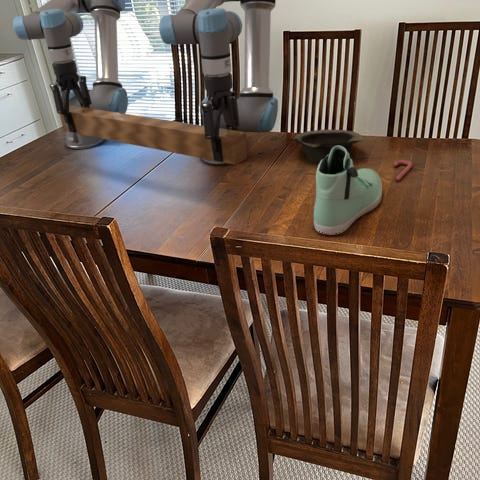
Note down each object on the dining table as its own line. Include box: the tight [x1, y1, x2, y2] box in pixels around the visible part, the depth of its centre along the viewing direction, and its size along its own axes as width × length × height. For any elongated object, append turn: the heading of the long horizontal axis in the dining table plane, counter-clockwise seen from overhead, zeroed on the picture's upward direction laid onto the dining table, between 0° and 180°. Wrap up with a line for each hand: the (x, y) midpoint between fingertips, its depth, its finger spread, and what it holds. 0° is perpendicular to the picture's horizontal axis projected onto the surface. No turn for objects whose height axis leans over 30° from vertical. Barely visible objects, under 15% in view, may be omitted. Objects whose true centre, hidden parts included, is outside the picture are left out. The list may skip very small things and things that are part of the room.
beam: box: [59, 106, 248, 166], centre depth 153 cm, size 75×6×8 cm, turn 56°
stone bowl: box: [292, 129, 365, 164], centre depth 172 cm, size 25×25×9 cm
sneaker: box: [313, 146, 383, 236], centre depth 133 cm, size 14×35×20 cm, turn 152°
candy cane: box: [393, 159, 413, 182], centre depth 157 cm, size 6×15×2 cm, turn 145°
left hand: (80, 129), depth 171 cm, fingers closed on beam, 6 cm apart
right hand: (225, 156), depth 138 cm, fingers closed on beam, 6 cm apart
